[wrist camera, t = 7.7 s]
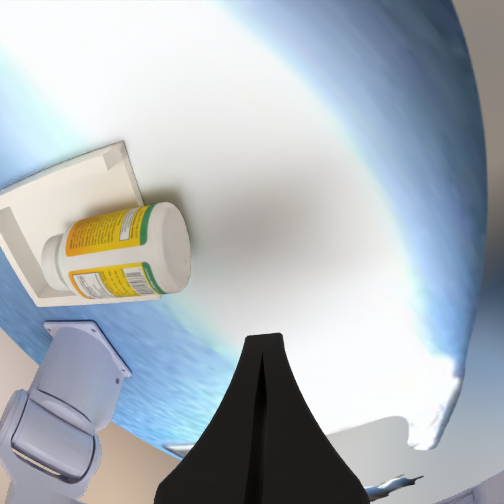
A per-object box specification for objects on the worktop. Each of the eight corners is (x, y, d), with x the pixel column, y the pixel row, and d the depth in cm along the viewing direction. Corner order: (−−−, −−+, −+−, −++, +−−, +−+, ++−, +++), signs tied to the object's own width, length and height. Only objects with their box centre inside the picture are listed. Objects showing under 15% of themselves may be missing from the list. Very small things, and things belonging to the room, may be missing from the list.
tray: (169, 272, 23) (160, 299, 20) (51, 285, 24) (37, 307, 22) (123, 140, 17) (102, 154, 14) (2, 188, 18) (-19, 205, 16)
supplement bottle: (171, 303, 15) (43, 311, 16) (197, 280, 20) (86, 292, 21) (153, 197, 14) (28, 229, 15) (185, 201, 20) (74, 224, 21)
